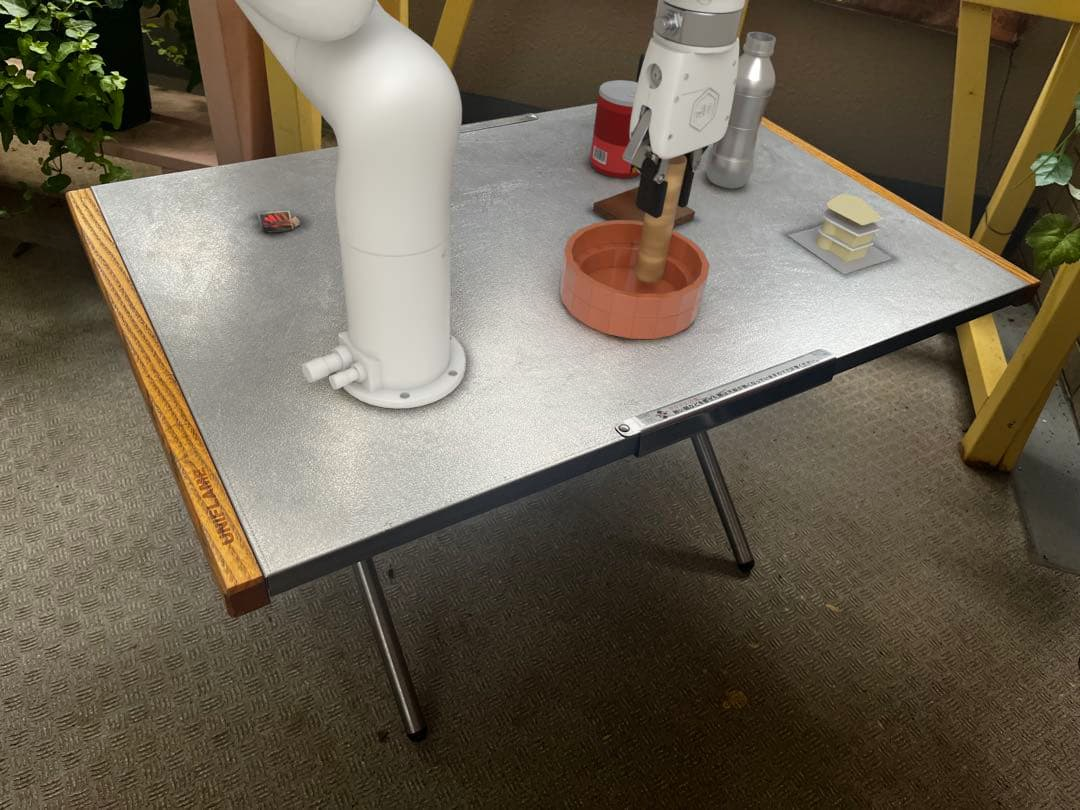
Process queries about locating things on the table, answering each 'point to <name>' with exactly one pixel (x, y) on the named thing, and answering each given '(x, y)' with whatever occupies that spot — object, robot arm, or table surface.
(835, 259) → the stacked layers on plate
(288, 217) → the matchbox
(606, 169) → the canned food
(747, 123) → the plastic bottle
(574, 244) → the bowl
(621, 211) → the board
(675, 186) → the stirring stick
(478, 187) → the table surface
